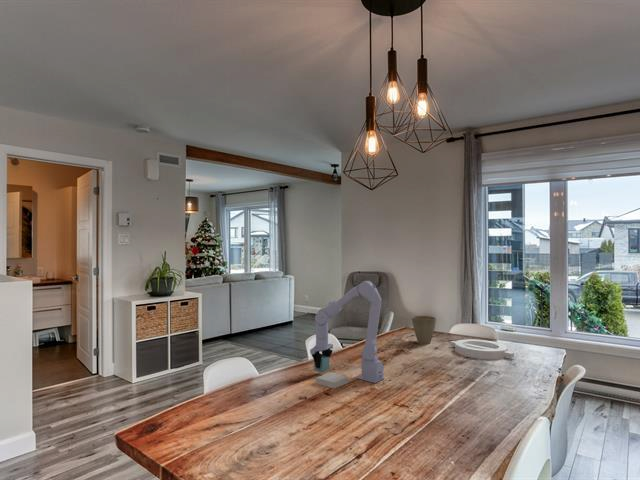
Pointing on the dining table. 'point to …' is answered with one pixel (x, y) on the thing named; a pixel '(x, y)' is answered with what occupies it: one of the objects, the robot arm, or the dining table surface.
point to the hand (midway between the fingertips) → (321, 366)
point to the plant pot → (424, 328)
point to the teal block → (323, 364)
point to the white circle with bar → (481, 349)
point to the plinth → (332, 380)
